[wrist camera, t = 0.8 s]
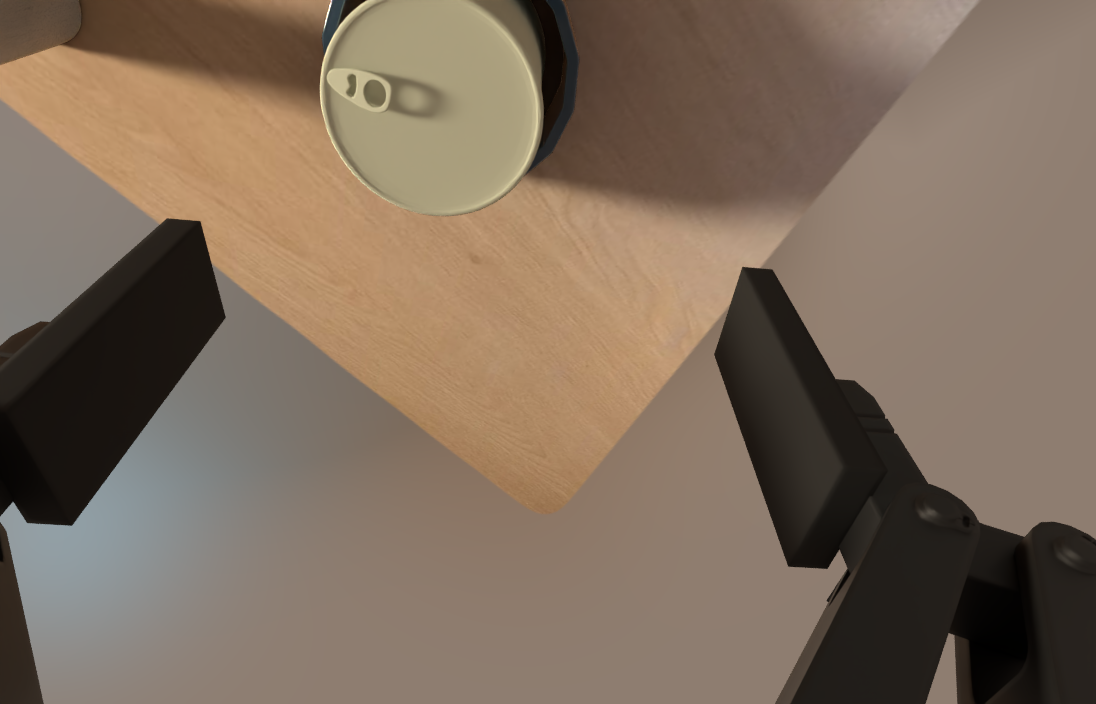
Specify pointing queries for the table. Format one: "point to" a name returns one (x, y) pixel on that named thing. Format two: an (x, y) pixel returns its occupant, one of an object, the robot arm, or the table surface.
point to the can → (436, 99)
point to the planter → (36, 26)
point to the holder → (564, 98)
